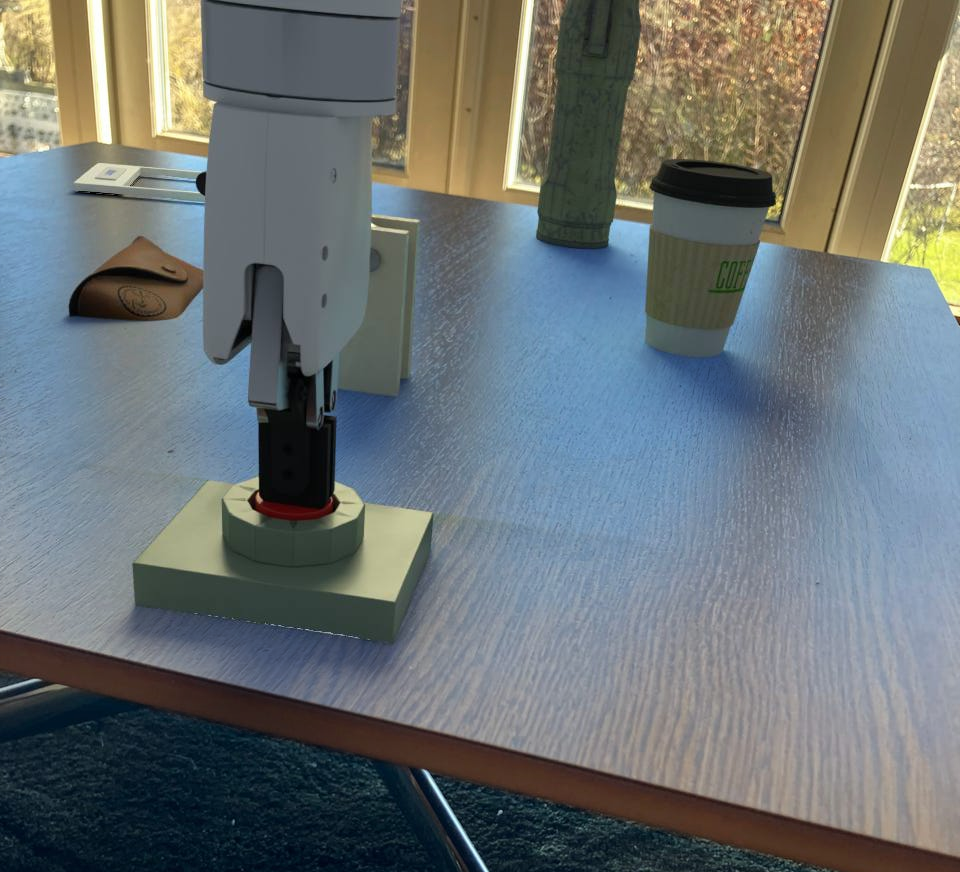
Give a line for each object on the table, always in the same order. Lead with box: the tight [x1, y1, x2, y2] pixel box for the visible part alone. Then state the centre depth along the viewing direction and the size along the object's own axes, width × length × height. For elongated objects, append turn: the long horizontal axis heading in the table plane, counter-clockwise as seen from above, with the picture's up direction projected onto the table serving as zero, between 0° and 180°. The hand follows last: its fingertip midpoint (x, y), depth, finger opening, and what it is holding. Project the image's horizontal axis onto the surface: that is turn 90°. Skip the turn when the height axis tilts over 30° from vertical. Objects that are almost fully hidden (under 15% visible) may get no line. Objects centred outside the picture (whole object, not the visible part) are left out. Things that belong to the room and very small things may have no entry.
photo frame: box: [73, 162, 205, 203], centre depth 137 cm, size 15×1×18 cm
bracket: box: [337, 213, 421, 398], centre depth 76 cm, size 10×8×12 cm
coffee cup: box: [644, 158, 777, 358], centre depth 91 cm, size 10×10×15 cm
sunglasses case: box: [68, 235, 203, 322], centre depth 92 cm, size 18×7×7 cm
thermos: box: [535, 0, 642, 250], centre depth 125 cm, size 9×12×35 cm
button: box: [255, 492, 333, 521], centre depth 54 cm, size 4×4×2 cm
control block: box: [131, 476, 435, 645], centre depth 54 cm, size 12×10×4 cm
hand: (297, 498), depth 53 cm, fingers closed
